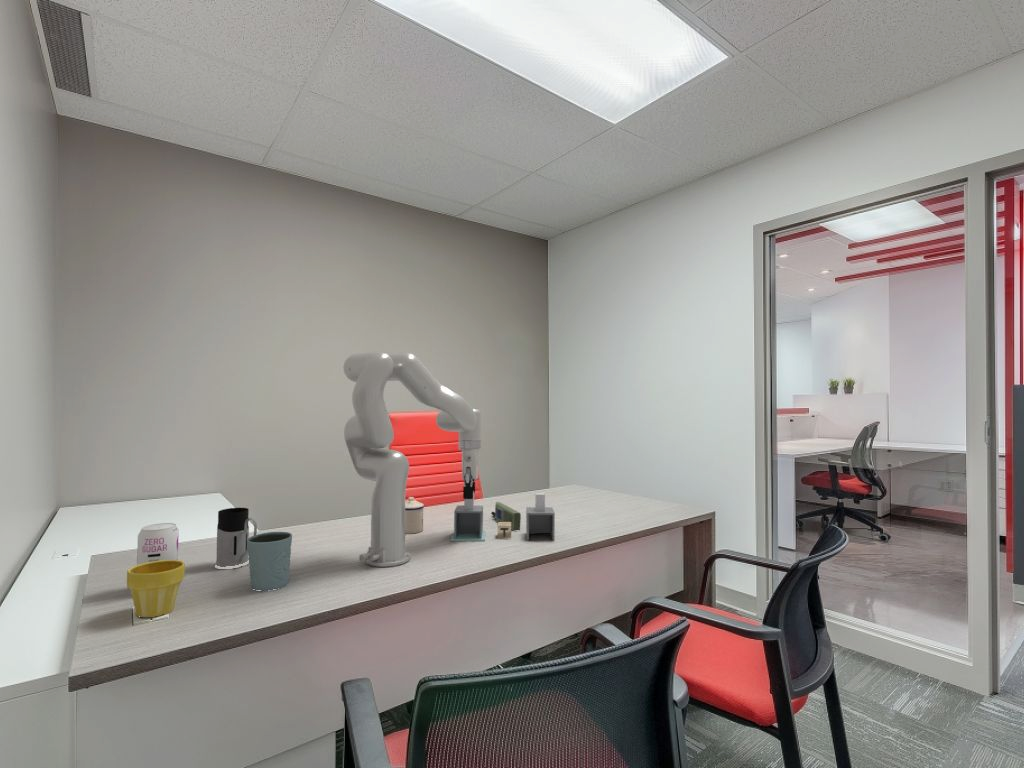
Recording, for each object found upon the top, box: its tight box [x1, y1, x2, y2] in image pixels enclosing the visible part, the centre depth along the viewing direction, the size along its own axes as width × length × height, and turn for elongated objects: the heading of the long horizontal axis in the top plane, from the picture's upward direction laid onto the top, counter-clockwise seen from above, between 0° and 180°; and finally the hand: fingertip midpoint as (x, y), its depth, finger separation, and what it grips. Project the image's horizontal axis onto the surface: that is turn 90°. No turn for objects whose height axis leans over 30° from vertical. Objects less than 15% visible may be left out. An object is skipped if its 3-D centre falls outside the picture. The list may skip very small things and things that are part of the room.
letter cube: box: [497, 521, 512, 539], centre depth 174 cm, size 5×4×4 cm
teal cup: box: [247, 531, 293, 592], centre depth 128 cm, size 10×10×12 cm
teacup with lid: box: [405, 496, 425, 535], centre depth 182 cm, size 12×9×12 cm
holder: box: [215, 507, 258, 567], centre depth 142 cm, size 9×14×15 cm, turn 62°
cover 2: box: [525, 492, 556, 541], centre depth 174 cm, size 9×9×14 cm
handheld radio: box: [490, 501, 522, 531], centre depth 193 cm, size 7×3×25 cm
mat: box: [450, 530, 487, 542], centre depth 174 cm, size 11×11×1 cm
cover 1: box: [453, 491, 484, 539], centre depth 174 cm, size 9×9×14 cm
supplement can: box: [136, 522, 180, 566], centre depth 125 cm, size 8×8×15 cm
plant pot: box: [126, 559, 186, 618], centre depth 112 cm, size 10×10×10 cm
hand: (469, 496), depth 174 cm, fingers open, 9 cm apart
